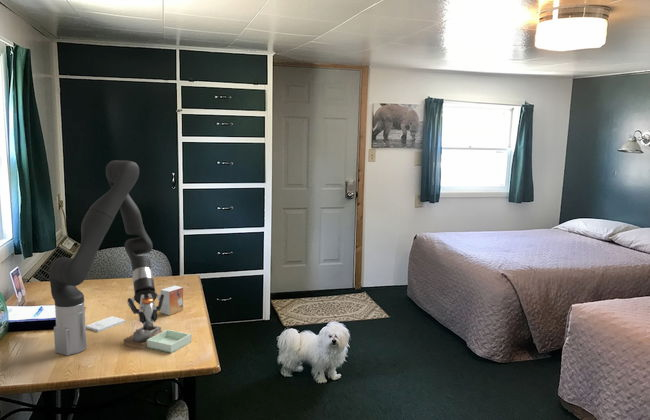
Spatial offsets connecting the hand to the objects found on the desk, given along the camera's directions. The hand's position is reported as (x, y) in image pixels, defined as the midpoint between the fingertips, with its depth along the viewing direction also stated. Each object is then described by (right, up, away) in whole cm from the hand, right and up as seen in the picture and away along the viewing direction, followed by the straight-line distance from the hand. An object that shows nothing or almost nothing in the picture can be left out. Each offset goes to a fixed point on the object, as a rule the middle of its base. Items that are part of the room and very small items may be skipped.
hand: (149, 321), depth 190 cm
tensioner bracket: (-1, -7, 0) cm, 7 cm away
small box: (0, -3, +31) cm, 31 cm away
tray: (+9, -8, -3) cm, 12 cm away
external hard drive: (-23, -5, +14) cm, 27 cm away
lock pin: (-1, -5, +2) cm, 5 cm away
